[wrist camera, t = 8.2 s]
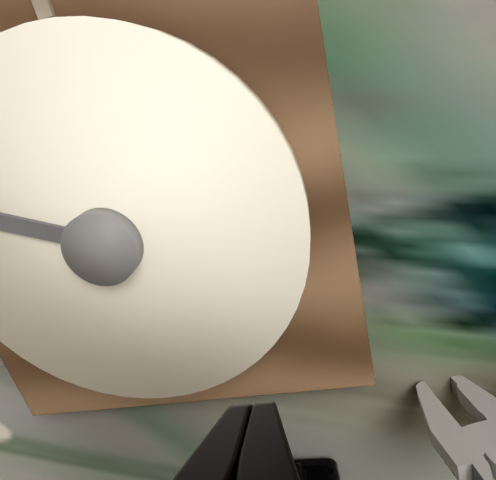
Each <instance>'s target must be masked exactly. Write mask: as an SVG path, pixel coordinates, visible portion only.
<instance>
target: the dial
mask: <svg viewBox="0 0 496 480" xmlns="http://www.w3.org/2000/svg"><path fill="white" fill-rule="evenodd" d="M310 238H311V236H310V216H309V206H308V197H307V193H306V188H305V184H304V180H303V176H302V172H301V169H300V167H299V164H298V162H297V159H296V157H295V154H294V152H293V149H292V147H291V145H290V143H289V141H288V139H287V138H286V136H285V134H284V132H283V130H282V129H281V127H280V125H279V123H278V121H277V120H276V119H275V117H274V116H273V115H272V113H271V112H270V111H269V109H268V108H267V107H266V105H265V104H264V103H263V101H262V100H261V99H260V97H259V96H258V95H257V94H256V93H255V92H254V91H253V90H252V89H251V88H250V87H249V86H248V85H247V84H246V83H245V82H244V81H243V80H242V79H241V78H240V77H239V76H238V75H237V74H235V73H234V72H233V71H232V70H230V69H229V68H228V67H226V66H225V65H224V64H223V63H221V62H220V61H219V60H218V59H216V58H215V57H213V56H211V55H210V54H208V53H206V52H205V51H203V50H201V49H200V48H198V47H196V46H195V45H193V44H191V43H190V42H187V41H185V40H183V39H180V38H178V37H175V36H173V35H171V34H168V33H166V32H164V31H161V30H157V29H153V28H150V27H146V26H142V25H138V24H135V23H130V22H125V21H120V20H116V19H107V18H98V17H90V16H67V17H51V18H46V19H41V20H36V21H31V22H27V23H23V24H21V25H18V26H15V27H13V28H10V29H8V30H5V31H3V32H0V342H2V343H3V344H4V345H5V346H7V347H8V348H9V349H11V350H12V351H13V352H15V353H16V354H17V355H19V356H20V357H22V358H23V359H25V360H26V361H28V362H30V363H31V364H33V365H35V366H36V367H38V368H39V369H41V370H43V371H45V372H47V373H49V374H51V375H53V376H55V377H57V378H59V379H62V380H64V381H67V382H69V383H72V384H75V385H77V386H80V387H83V388H86V389H90V390H93V391H97V392H100V393H105V394H111V395H116V396H121V397H132V398H168V397H175V396H183V395H188V394H192V393H196V392H199V391H203V390H207V389H209V388H212V387H214V386H217V385H219V384H222V383H224V382H226V381H228V380H230V379H232V378H233V377H235V376H237V375H239V374H241V373H242V372H244V371H245V370H246V369H248V368H249V367H250V366H252V365H253V364H254V363H256V362H257V361H258V360H260V359H261V358H262V357H263V356H264V355H265V354H266V353H267V352H268V351H269V350H270V349H271V348H272V347H273V346H274V344H275V343H276V342H277V340H278V339H279V338H280V336H281V335H282V334H283V332H284V331H285V330H286V328H287V327H288V325H289V323H290V321H291V319H292V317H293V315H294V313H295V312H296V310H297V308H298V305H299V302H300V299H301V296H302V293H303V290H304V288H305V284H306V278H307V273H308V268H309V262H310Z"/></svg>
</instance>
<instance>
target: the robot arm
mask: <svg viewBox="0 0 496 480" xmlns="http://www.w3.org/2000/svg"><path fill="white" fill-rule="evenodd" d="M173 480H340V476H339V472H338V467H337V463H336V462H335V461H334V460H332V459H310V460H293V457H292V453H291V450H290V447H289V444H288V441H287V438H286V434H285V431H284V428H283V425H282V422H281V419H280V416H279V412H278V409H277V406H276V404H275V402H272V401H271V402H260V403H255V404H254V405H251V404H238V405H232V406H230V407H229V408H228V409H227V410H226V411H225V413H224V414H223V415H222V417H221V418H220V419H219V420H218V422H217V423H216V424H215V426H214V427H213V428H212V429H211V431H210V432H209V433H208V435H207V436H206V437H205V439H204V440H203V441H202V442H201V444H200V445H199V446H198V448H197V449H196V450H195V452H194V453H193V454H192V455H191V457H190V458H189V459H188V461H187V462H186V463H185V464H184V466H183V467H182V468H181V470H180V471H179V472H178V474H177V475H176V476H175V477H174V479H173Z"/></svg>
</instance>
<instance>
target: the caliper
mask: <svg viewBox="0 0 496 480" xmlns="http://www.w3.org/2000/svg"><path fill="white" fill-rule="evenodd" d="M450 378H451V385H452V392H453V393H454V394H455V395H456V396H457V397H458V400H459V402H460V403H461V405H462V406H463V407H464V408H465V409H466V410H467V412H468V413H469V414H470V415H471V416H472V417H473V419H474V420H475V421H476V423H472V424H469V425H466V426H464V427H461V426H460V425H459V424H458V422H457V421H456V420H455V419H454V418H453V416H452V415H451V414H450V413H449V411H448V410H447V409H446V408H445V407H444V405H443V404H442V403H441V402H440V401H439V399H438V398H437V397H436V396H435V394H434V393H433V392H432V391H431V389H430V388H429V387H428V385H427V384H426V383H425V381H424V380H423V381H421V382H419V383H418V384H417V385H416V391H417V397H418V402H419V405H420V409H421V412H422V415H423V418H424V421H425V424H426V427H427V430H428V433H429V436H430V439H431V441H432V444H433V446H434V448H435V449H436V451H437V452H438V453H439V455H440V456H441V458H442V459H443V460H444V462H445V463H446V465H447V466H448V467H449V469H450V470H451V472H452V473H453V474H454V476H455V477H456V478H457V480H493V478H494V479H495V480H496V397H494V396H493V395H491V394H490V393H488V392H487V391H485V390H484V389H482V388H481V387H479V386H477V385H476V384H474V383H473V382H471V381H470V380H468V379H467V378H465V377H463V376H461V375H459V376H451V377H450Z"/></svg>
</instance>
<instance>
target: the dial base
mask: <svg viewBox="0 0 496 480" xmlns="http://www.w3.org/2000/svg"><path fill="white" fill-rule="evenodd" d="M67 16H90V17H98V18H107V19H116V20H120V21H125V22H130V23H135V24H138V25H142V26H146V27H150V28H153V29H157V30H161V31H164V32H166V33H168V34H171V35H173V36H175V37H178V38H180V39H183V40H185V41H187V42H190V43H191V44H193V45H195V46H196V47H198V48H200V49H201V50H203V51H205V52H206V53H208V54H210V55H211V56H213V57H215V58H216V59H218V60H219V61H220V62H221V63H223V64H224V65H225V66H226V67H228V68H229V69H230V70H232V71H233V72H234V73H235V74H237V75H238V76H239V77H240V78H241V79H242V80H243V81H244V82H245V83H246V84H247V85H248V86H249V87H250V88H251V89H252V90H253V91H254V92H255V93H256V94H257V95H258V96H259V97H260V99H261V100H262V101H263V103H264V104H265V105H266V107H267V108H268V109H269V111H270V112H271V113H272V115H273V116H274V117H275V119H276V120H277V121H278V123H279V125H280V127H281V129H282V130H283V132H284V134H285V136H286V138H287V139H288V141H289V143H290V145H291V147H292V149H293V152H294V154H295V157H296V159H297V162H298V164H299V167H300V169H301V172H302V176H303V180H304V184H305V188H306V193H307V197H308V206H309V216H310V236H311V238H310V262H309V268H308V273H307V278H306V284H305V288H304V290H303V293H302V296H301V299H300V302H299V305H298V308H297V310H296V312H295V313H294V315H293V317H292V319H291V321H290V323H289V325H288V327H287V328H286V330H285V331H284V332H283V334H282V335H281V336H280V338H279V339H278V340H277V342H276V343H275V344H274V346H273V347H272V348H271V349H270V350H269V351H268V352H267V353H266V354H265V355H264V356H263V357H262V358H261V359H260V360H258V361H257V362H256V363H254V364H253V365H252V366H250V367H249V368H248V369H246V370H245V371H244V372H242V373H241V374H239V375H237V376H235V377H233V378H232V379H230V380H228V381H226V382H224V383H222V384H219V385H217V386H214V387H212V388H209V389H207V390H203V391H199V392H196V393H192V394H188V395H183V396H175V397H168V398H132V397H121V396H116V395H111V394H105V393H100V392H97V391H93V390H90V389H86V388H83V387H80V386H77V385H75V384H72V383H69V382H67V381H64V380H62V379H59V378H57V377H55V376H53V375H51V374H49V373H47V372H45V371H43V370H41V369H39V368H38V367H36V366H35V365H33V364H31V363H30V362H28V361H26V360H25V359H23V358H22V357H20V356H19V355H17V354H16V353H15V352H13V351H12V350H11V349H9V348H8V347H7V346H5V345H4V344H3V343H2V342H0V357H1V358H2V360H3V362H4V364H5V366H6V367H7V369H8V371H9V373H10V375H11V377H12V378H13V380H14V382H15V384H16V386H17V387H18V389H19V391H20V393H21V395H22V396H23V398H24V400H25V402H26V404H27V406H28V407H29V409H30V411H31V413H32V415H33V416H34V415H45V414H56V413H67V412H78V411H89V410H101V409H112V408H123V407H134V406H145V405H157V404H168V403H179V402H190V401H201V400H212V399H224V398H235V397H246V396H257V395H268V394H280V393H291V392H302V391H313V390H324V389H335V388H347V387H358V386H369V385H375V378H374V372H373V365H372V359H371V352H370V345H369V339H368V332H367V326H366V319H365V312H364V306H363V299H362V293H361V286H360V279H359V273H358V266H357V260H356V253H355V247H354V240H353V233H352V227H351V220H350V214H349V207H348V200H347V194H346V187H345V181H344V174H343V167H342V161H341V154H340V148H339V141H338V135H337V128H336V121H335V115H334V108H333V102H332V95H331V88H330V82H329V75H328V69H327V62H326V55H325V49H324V42H323V36H322V29H321V22H320V16H319V9H318V3H317V0H0V32H3V31H5V30H8V29H10V28H13V27H15V26H18V25H21V24H23V23H27V22H31V21H36V20H41V19H46V18H51V17H67Z"/></svg>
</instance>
